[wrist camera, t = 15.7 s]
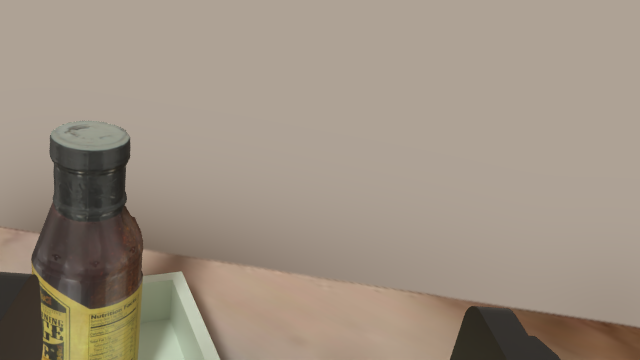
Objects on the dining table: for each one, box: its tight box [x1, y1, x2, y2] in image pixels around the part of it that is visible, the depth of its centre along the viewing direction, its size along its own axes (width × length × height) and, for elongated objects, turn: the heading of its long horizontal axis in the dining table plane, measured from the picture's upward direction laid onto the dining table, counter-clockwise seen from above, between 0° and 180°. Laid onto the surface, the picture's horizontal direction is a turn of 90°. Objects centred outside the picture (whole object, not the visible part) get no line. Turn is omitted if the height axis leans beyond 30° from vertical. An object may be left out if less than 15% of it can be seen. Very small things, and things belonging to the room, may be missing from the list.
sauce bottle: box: [31, 121, 143, 360], centre depth 34 cm, size 6×6×20 cm
